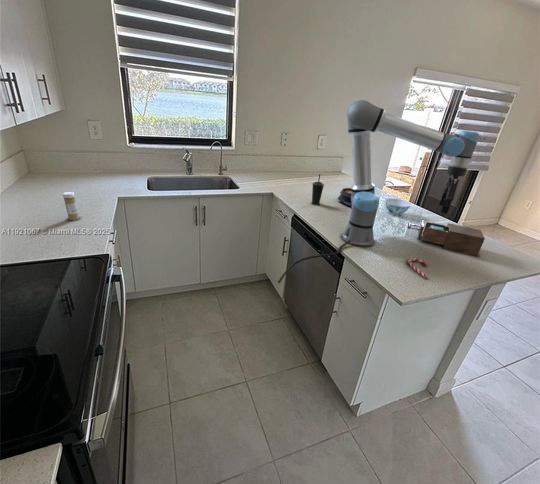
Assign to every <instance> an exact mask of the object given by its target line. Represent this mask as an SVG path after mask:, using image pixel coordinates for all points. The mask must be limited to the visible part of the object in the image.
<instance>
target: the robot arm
mask: <svg viewBox="0 0 540 484" xmlns="http://www.w3.org/2000/svg"><path fill="white" fill-rule="evenodd" d="M346 118H347V133H348V134H349V135H350V136H351V149H352V151H351V153H352V175H353V177H352V178H353V184H352V185H351V186H350V188H351V202H352V206H351V211H350V215H349V219H348V223H347V225H346V227H345V229H344V231H343V232H342V235H341V236H342V237H341V238H342V239H343V241H344V243H342V244H341V245H340V246H339V247H338V249H337V251H335V252H333V253H323V254H316V255H311V256H306V257H303V258H300V259H298V260H296V261H294V262H293V263H292V264H290V265H289V266H288V267H287V269H286V270H285V271H284V272H283V273H282V275H281V276H280V278H279V279H278V281H277V283H278V284H281V282H282V280H283V279H284V277H285V276H286V275H287V273H288V272H289V271H290V270H291V269H292V268H293V267H294V266H296V265H297V264H299V263H301V262H303V261H306V260H310V259H315V258H321V257H331V256H336V255H339V253H340V252H341V249H342V248H343V247H345V246H346V245H348V244H350V245H354V246H357V247H370V246H372V245H373V244H374V240H375V235H374V225H375V220H376V217H377V213H378V209H379V206H380V198H379V196H378V195H377V194H375V191H376V190H375V184H374V183H373V182H372V158H371V157H372V151H371V148H372V147H371V146H372V145H371V133H376V132H380V133H382V134H385V135H389V136H392V137H394V138H397V139H399V140H400V139H401V140H403V141H405V142H409V143H411V144H414V145H417V146H421V147H423V148H426V149H428V150H431V151H435V152H437V153H440V154H443V155H444V156H446V157H451V158H450V161H449V165H448V166H447V170H446V174H448V175H449V176H448V177H447V181H446V182H445V185H444V188H443V193H442V195H441V199H440V200H439V204H438V206H441V210H440V214H445V215H448V212H449V210H450V208H451V204H452V201H453V202H454V198H455V194H456V191H457V188H458V185H459V182H460V180H459V177H465V175H466V173H467V171H468V169H467V168H468V167H469V165H470V163H472V160H471V159H472V157H473V154H474V151H475V149H476V146H477V145H478V142H479V138H480V133H479V132H477V131H469V130H461V131H460V133H459V134H452V133H451V134H450V133H445V132H443V131H440V130H437V129H434V128H431V127H429V126H425V125H423V124H419V123H417V122H414V121H411V120H409V119H405V118H402V117H399V116H396V115H394V114H390V113H387V112H386V110H385V109H384V108H382V107H379V106H377V105H375V104H373V103H371V102H370V101H369V100H364V99H362V100H361V99H360V100H356V101H354V102H353V103H352V104H350V106H349V107H348V109H347V111H346Z"/></svg>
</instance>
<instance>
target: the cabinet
mask: <svg viewBox="0 0 540 484" xmlns="http://www.w3.org/2000/svg"><path fill="white" fill-rule="evenodd" d="M446 226H448V229H449V234H448V236H447V239H446V242H445V244H444V245H442V248H443V249H444V250H449V251H452V252H457V253H461V254H464V255H465V254H466V255H469V256H474V257H478V255H479V254H480V251H481V249H482V246H483V244H484V242H485V240H486V238H485V235H484V234H483V231H482V229H478V228H473V227H468V226H463V225H459V224H454V223H450V222H448V223H447V224H446Z"/></svg>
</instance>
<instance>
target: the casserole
mask: <svg viewBox="0 0 540 484" xmlns="http://www.w3.org/2000/svg"><path fill="white" fill-rule="evenodd" d="M339 194H340V195H338V197H337V200H338V201H339V202H341V203H343V204H345V205H347V206H350V207H352V202H351V187H345V188H342V189H341V191H340V192H339Z"/></svg>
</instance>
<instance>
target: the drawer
mask: <svg viewBox="0 0 540 484" xmlns="http://www.w3.org/2000/svg"><path fill="white" fill-rule="evenodd" d="M430 225H433V226H438V227H443V229H444V230H439V229H435V228H430ZM407 229H408V230H410V229H412V230H416V231H417V235H416V238H417V241H421V238H422V241H424V242H428V243H432V244H437V245H442V246H443V245H444V244H445V242H446V239H447V236H448V234H449V229H448V226H447V225H445V224H441V223H437V222H436V223H434V222H431V221H426V223H425V220H424V219H421V221H420V224H419V225H418V224H413V223H411V222H407Z"/></svg>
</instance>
